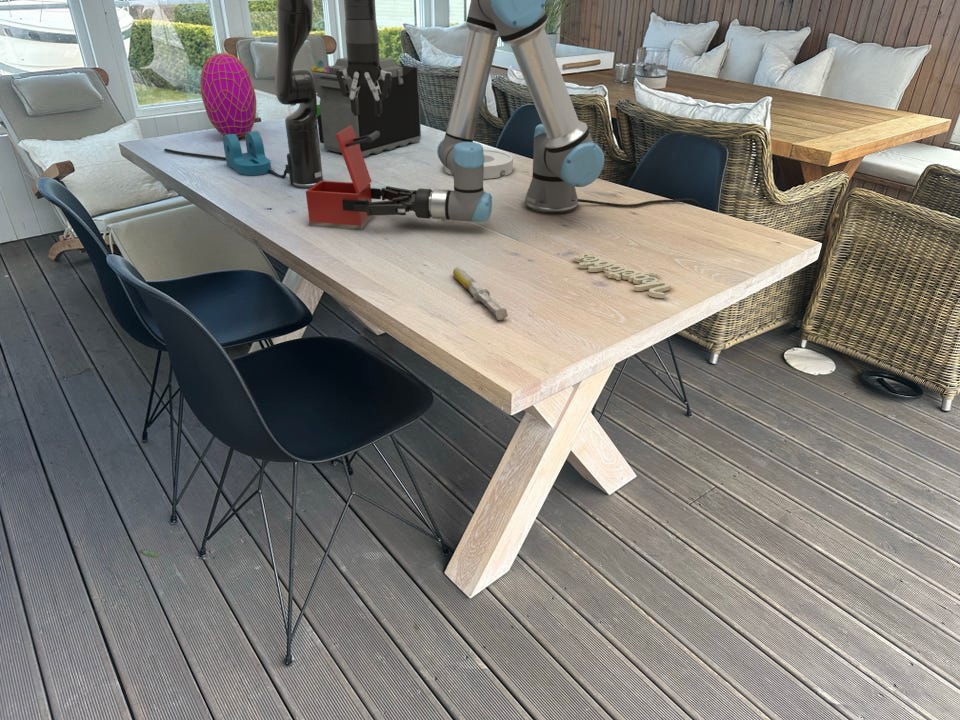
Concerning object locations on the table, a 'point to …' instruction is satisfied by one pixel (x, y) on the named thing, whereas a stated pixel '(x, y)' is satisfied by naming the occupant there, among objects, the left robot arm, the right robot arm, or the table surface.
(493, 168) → the ashtray
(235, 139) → the camera mount
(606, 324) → the table surface
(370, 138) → the lid
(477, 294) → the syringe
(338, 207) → the chest
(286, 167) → the left robot arm
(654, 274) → the decorative sign
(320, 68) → the potted flower
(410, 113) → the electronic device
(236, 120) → the decorative egg
